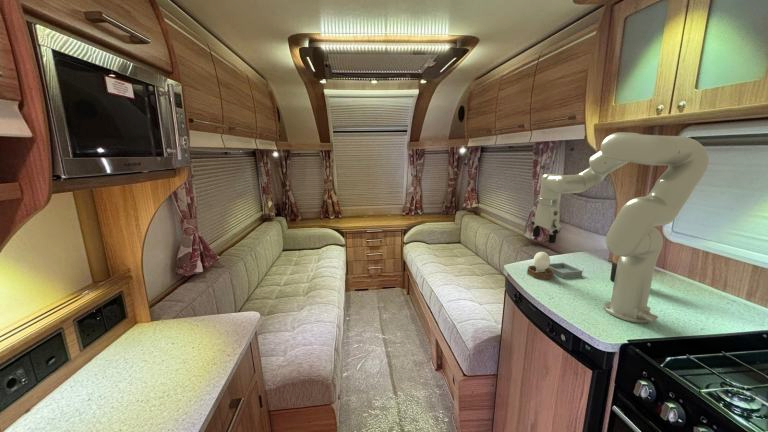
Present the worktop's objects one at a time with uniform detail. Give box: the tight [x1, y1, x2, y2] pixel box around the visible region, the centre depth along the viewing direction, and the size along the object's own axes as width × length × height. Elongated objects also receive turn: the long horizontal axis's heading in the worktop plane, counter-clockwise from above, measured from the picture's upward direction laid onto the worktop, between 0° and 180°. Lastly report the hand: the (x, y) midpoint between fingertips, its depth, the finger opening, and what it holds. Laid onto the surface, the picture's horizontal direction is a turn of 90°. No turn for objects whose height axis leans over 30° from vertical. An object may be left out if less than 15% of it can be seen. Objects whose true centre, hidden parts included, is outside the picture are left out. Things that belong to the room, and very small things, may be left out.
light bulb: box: [533, 251, 551, 274], centre depth 135 cm, size 7×7×11 cm
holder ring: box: [526, 265, 554, 280], centre depth 136 cm, size 10×10×2 cm
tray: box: [548, 262, 583, 279], centre depth 139 cm, size 11×11×3 cm
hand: (543, 239), depth 133 cm, fingers open, 9 cm apart
